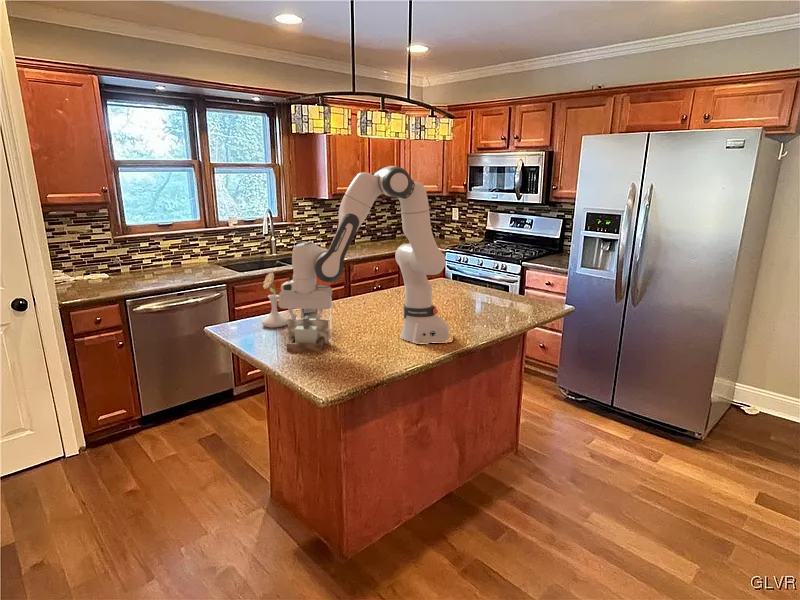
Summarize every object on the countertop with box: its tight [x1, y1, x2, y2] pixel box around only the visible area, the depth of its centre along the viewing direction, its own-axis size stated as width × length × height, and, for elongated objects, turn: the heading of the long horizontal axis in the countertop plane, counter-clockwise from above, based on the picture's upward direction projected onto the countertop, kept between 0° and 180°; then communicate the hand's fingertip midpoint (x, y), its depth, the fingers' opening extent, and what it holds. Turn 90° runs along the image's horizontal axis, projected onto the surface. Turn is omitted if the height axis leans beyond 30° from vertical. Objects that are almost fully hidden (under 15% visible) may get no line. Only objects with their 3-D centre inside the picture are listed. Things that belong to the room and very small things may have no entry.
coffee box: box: [300, 309, 319, 319], centre depth 211 cm, size 9×6×16 cm
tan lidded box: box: [286, 317, 330, 353], centre depth 185 cm, size 16×11×10 cm
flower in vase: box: [261, 271, 288, 328], centre depth 208 cm, size 13×11×25 cm
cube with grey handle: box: [295, 316, 318, 343], centre depth 185 cm, size 8×6×12 cm
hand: (306, 319), depth 184 cm, fingers open, 8 cm apart
